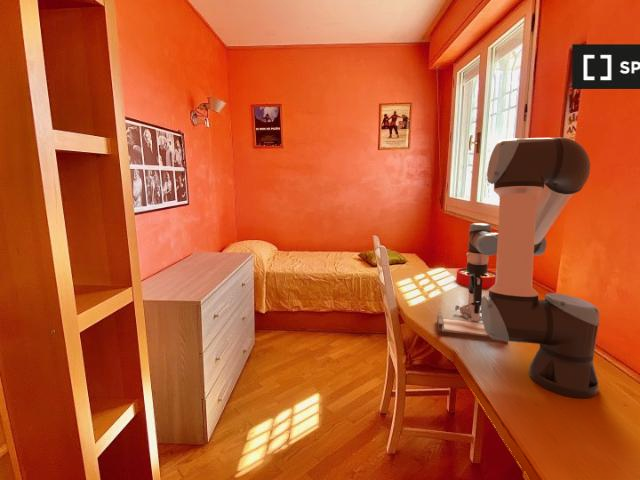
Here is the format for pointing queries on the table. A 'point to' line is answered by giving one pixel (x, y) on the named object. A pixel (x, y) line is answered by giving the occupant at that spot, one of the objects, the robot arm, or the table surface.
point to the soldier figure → (466, 311)
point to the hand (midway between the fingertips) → (473, 314)
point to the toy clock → (487, 278)
